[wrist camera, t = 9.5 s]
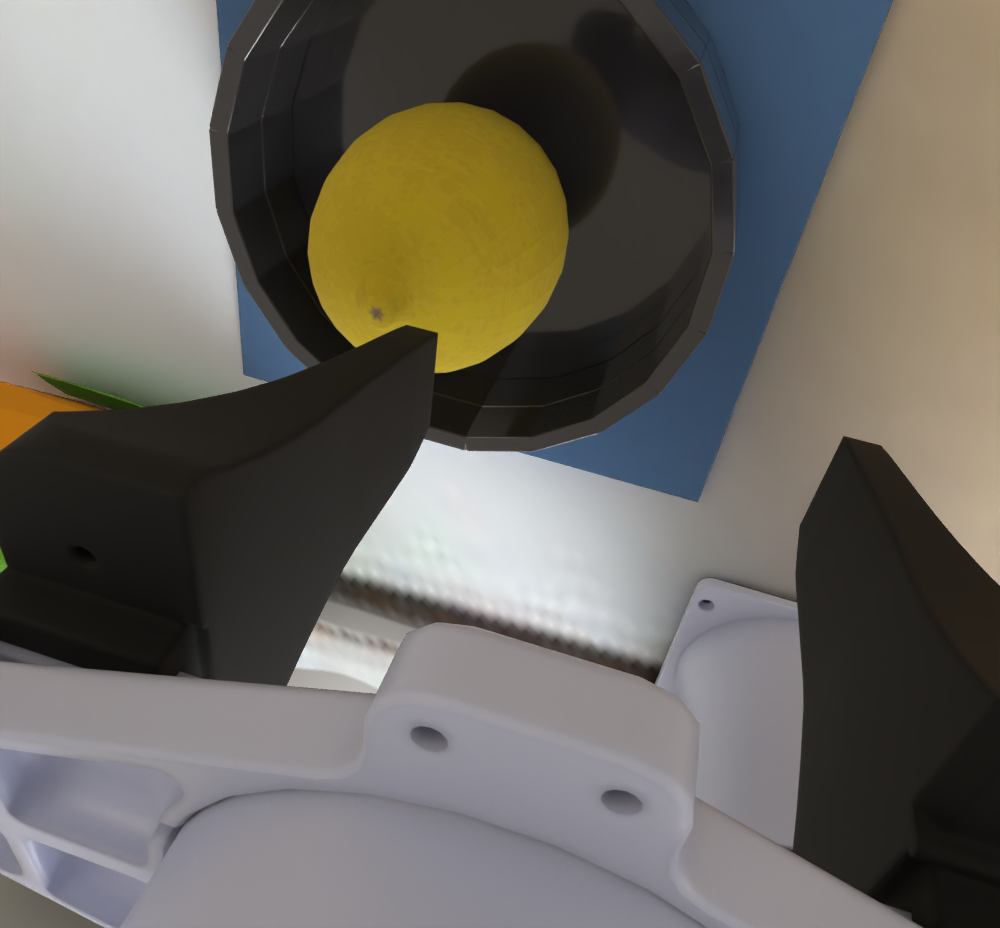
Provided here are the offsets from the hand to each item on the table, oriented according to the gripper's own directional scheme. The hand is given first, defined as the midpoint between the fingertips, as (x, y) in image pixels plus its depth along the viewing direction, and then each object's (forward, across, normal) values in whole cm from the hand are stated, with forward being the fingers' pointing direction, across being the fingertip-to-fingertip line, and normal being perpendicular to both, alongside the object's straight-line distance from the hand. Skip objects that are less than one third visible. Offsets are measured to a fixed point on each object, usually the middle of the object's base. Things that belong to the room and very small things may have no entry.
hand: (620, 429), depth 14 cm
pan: (+9, +5, -1) cm, 11 cm away
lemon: (+9, +5, -1) cm, 10 cm away
